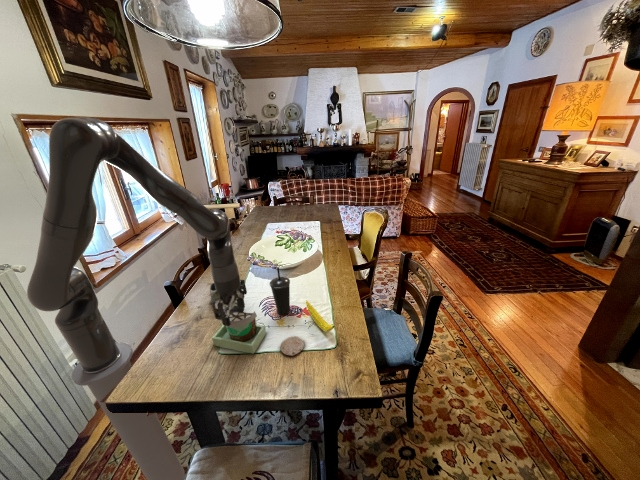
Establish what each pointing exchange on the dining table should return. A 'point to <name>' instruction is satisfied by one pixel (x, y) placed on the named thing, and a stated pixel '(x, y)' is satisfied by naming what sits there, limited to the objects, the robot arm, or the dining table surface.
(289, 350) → the flatbread
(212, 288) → the hiking shoe
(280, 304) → the drinking cup
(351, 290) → the dining table surface
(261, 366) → the dining table surface
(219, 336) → the holder
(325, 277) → the dining table surface
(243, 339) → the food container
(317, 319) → the banana
